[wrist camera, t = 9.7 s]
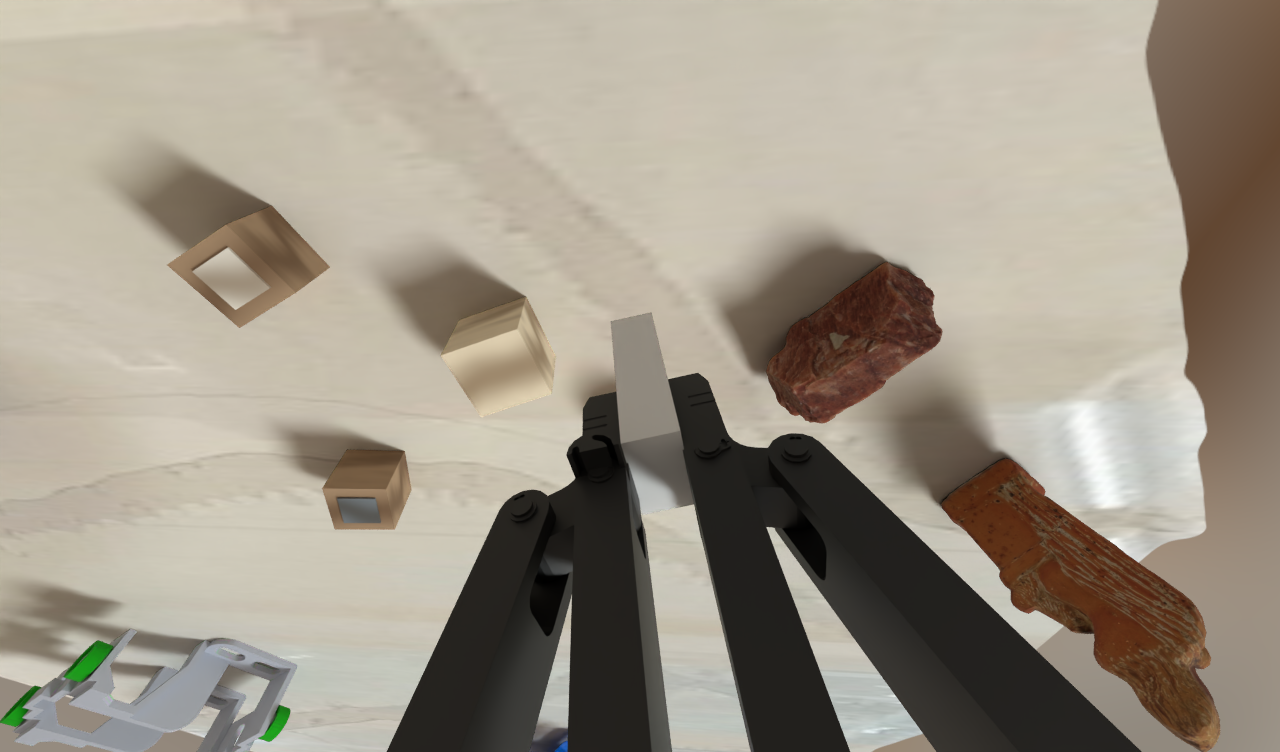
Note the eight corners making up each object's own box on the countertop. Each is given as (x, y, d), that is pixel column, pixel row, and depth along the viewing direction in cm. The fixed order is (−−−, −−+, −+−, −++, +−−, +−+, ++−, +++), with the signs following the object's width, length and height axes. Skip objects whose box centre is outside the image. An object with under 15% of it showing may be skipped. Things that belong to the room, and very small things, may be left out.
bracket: (138, 596, 62) (67, 678, 53) (311, 667, 74) (276, 744, 65) (61, 652, 66) (-15, 736, 58) (237, 711, 78) (195, 788, 70)
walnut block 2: (347, 449, 53) (321, 489, 47) (404, 450, 54) (385, 490, 48) (357, 488, 56) (334, 530, 51) (411, 489, 57) (394, 530, 51)
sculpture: (956, 528, 71) (1162, 778, 46) (926, 503, 67) (1132, 760, 42) (1039, 476, 66) (1319, 720, 41) (1012, 445, 63) (1302, 694, 37)
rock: (777, 393, 55) (809, 446, 47) (744, 361, 52) (772, 411, 44) (920, 285, 49) (982, 325, 41) (892, 242, 46) (953, 276, 38)
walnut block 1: (219, 241, 40) (164, 265, 35) (272, 205, 39) (224, 225, 34) (279, 298, 43) (237, 329, 38) (330, 266, 42) (294, 293, 37)
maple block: (459, 319, 46) (440, 355, 40) (526, 296, 45) (517, 328, 39) (493, 376, 50) (481, 417, 44) (555, 355, 49) (551, 393, 43)
